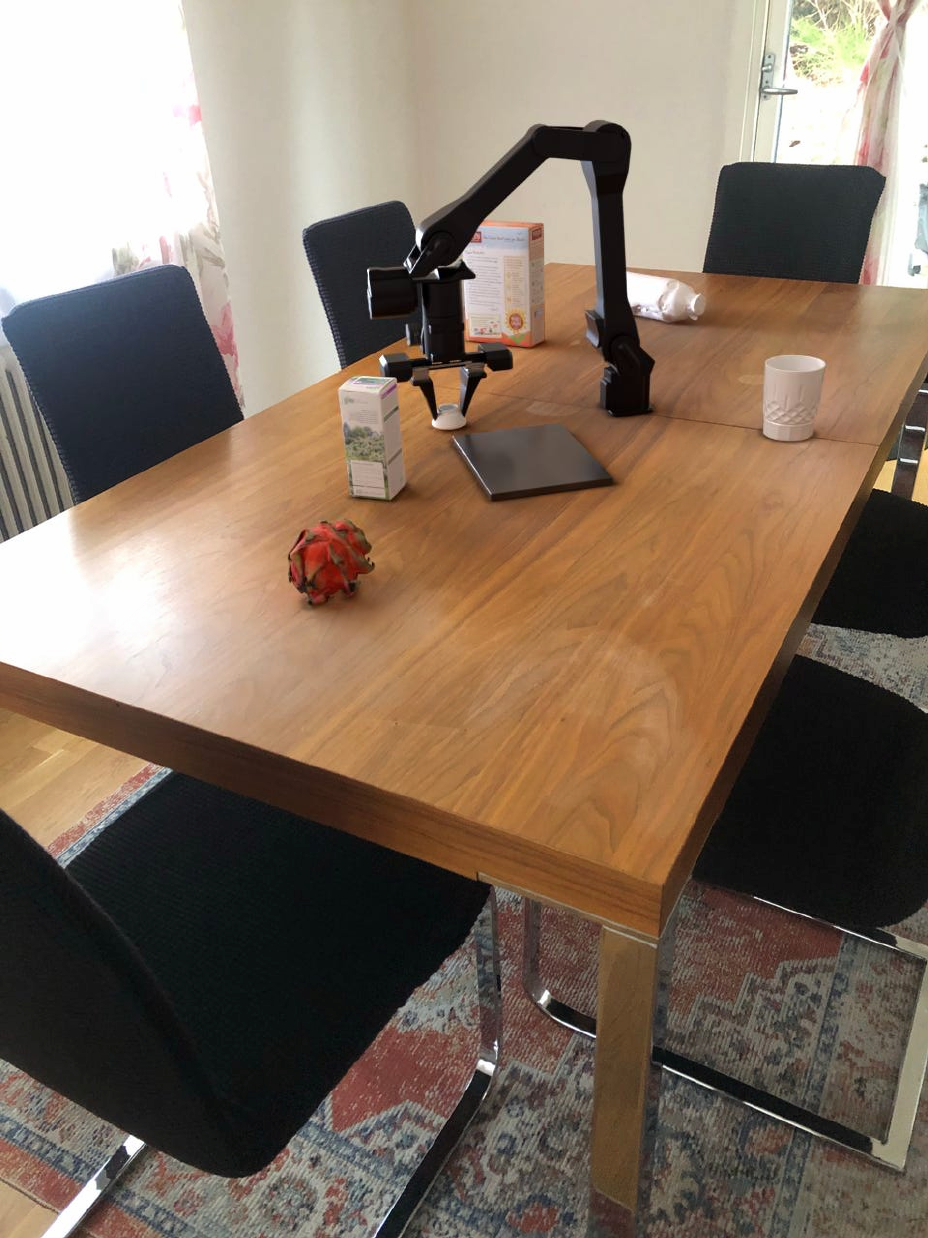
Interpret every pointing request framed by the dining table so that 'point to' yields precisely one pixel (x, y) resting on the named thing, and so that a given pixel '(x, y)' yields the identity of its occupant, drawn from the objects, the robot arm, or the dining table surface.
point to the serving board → (530, 461)
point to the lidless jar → (449, 417)
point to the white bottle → (663, 298)
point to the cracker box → (506, 284)
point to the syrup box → (372, 436)
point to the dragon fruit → (329, 560)
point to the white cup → (791, 396)
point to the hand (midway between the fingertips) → (449, 419)
